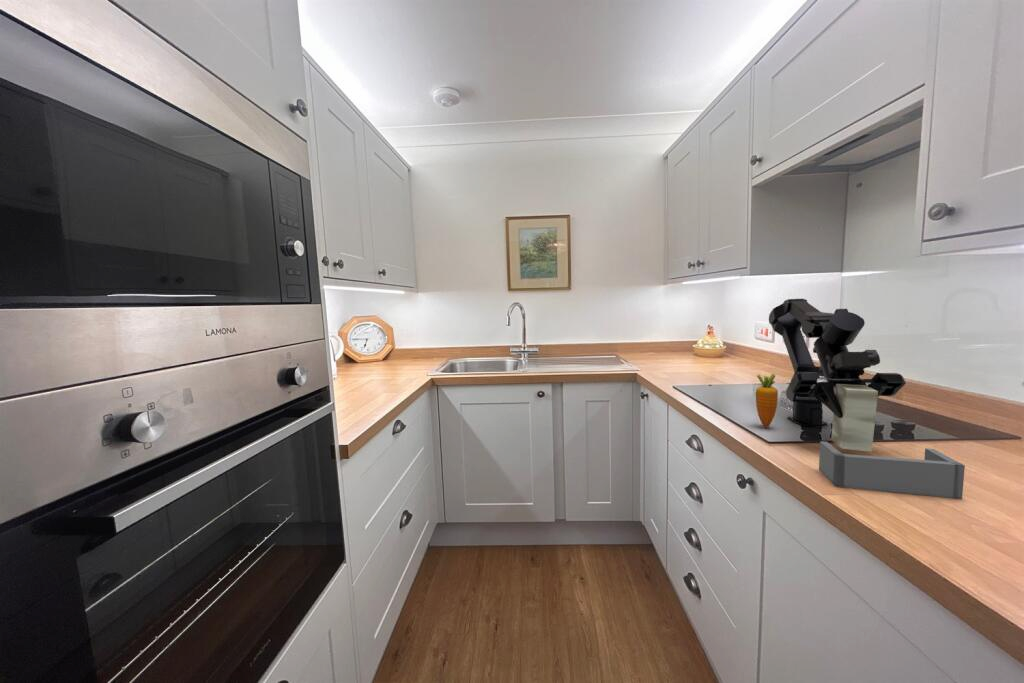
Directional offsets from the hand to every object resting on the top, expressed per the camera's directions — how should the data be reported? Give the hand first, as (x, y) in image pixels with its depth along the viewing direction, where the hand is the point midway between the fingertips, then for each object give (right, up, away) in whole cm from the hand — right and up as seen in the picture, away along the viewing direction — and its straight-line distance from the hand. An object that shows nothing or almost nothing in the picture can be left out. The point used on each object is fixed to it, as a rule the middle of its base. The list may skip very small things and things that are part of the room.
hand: (856, 418), depth 78 cm
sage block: (+1, -6, +2) cm, 7 cm away
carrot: (-4, -7, +22) cm, 23 cm away
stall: (-3, -10, -9) cm, 14 cm away
